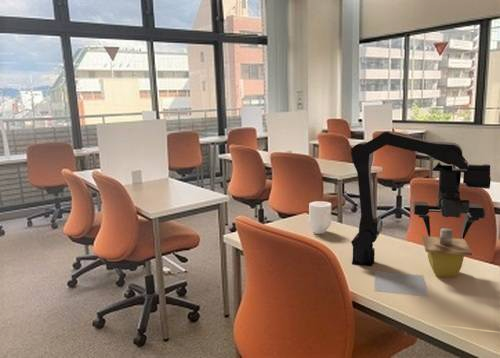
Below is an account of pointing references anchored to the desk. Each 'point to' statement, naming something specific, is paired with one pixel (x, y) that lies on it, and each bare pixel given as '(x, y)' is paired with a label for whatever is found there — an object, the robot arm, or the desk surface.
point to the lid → (446, 244)
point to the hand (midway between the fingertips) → (445, 237)
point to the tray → (400, 283)
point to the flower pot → (445, 264)
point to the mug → (320, 216)
